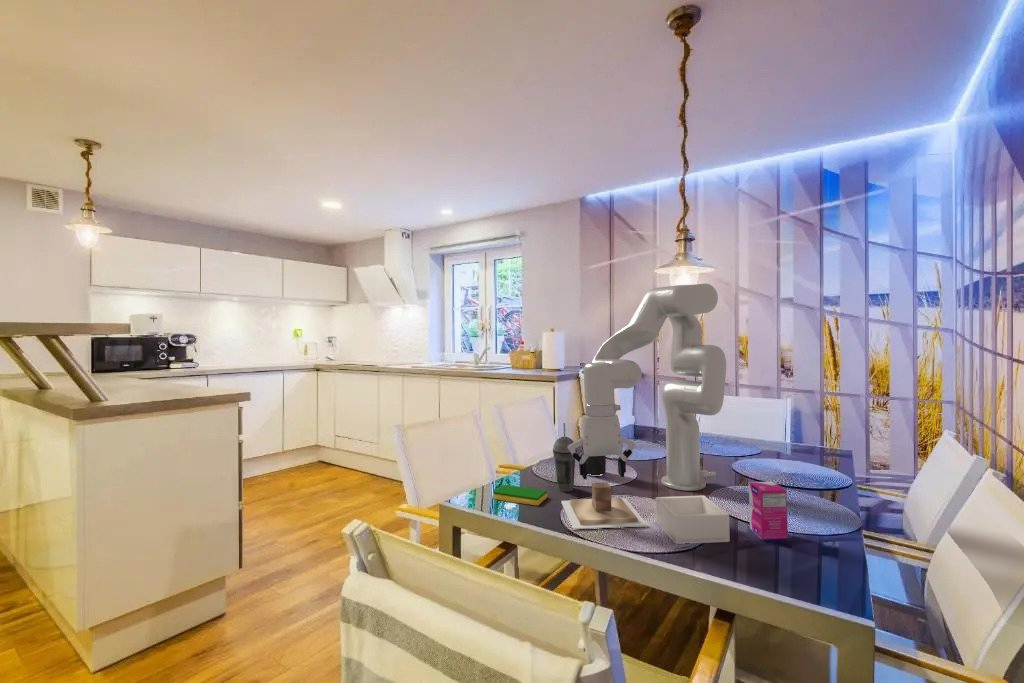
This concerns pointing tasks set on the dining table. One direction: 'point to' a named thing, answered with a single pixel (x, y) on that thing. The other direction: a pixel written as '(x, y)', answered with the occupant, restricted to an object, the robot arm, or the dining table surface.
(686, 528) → the white open box
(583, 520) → the lid
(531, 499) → the dish sponge
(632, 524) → the mat
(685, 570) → the dining table surface
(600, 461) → the travel mug
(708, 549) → the dining table surface
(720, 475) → the dining table surface
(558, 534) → the dining table surface
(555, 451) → the beverage cup
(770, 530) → the supplement box
